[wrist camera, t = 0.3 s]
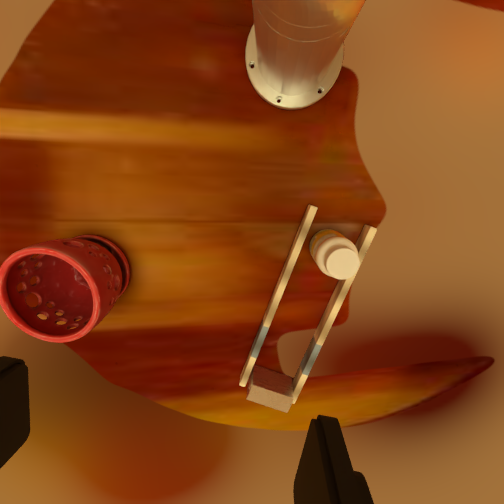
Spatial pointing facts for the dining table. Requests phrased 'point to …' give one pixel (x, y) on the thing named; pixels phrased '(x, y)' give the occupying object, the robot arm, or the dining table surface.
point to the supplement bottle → (334, 254)
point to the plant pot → (64, 285)
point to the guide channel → (281, 386)
